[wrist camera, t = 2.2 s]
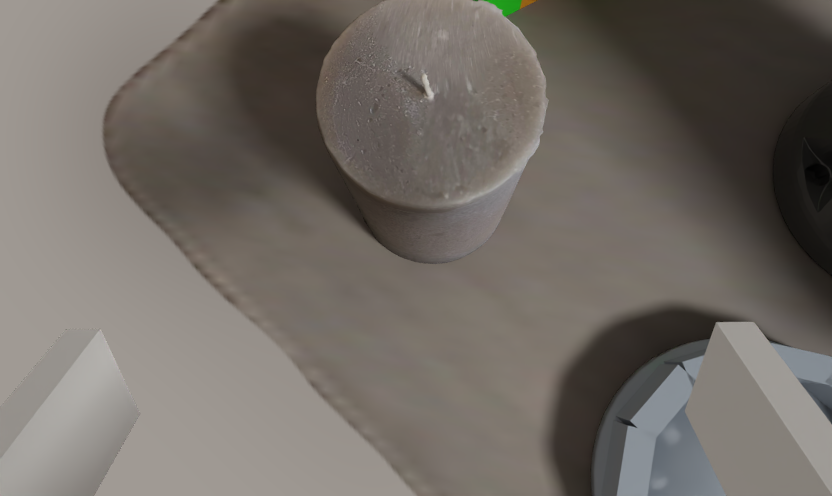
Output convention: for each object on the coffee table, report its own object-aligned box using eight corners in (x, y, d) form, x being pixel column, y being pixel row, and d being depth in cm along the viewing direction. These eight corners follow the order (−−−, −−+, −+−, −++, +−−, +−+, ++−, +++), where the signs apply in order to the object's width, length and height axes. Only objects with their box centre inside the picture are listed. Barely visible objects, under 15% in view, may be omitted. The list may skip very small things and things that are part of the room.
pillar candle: (335, 226, 35) (259, 137, 20) (400, 100, 37) (373, -67, 22) (470, 290, 34) (493, 244, 19) (531, 157, 35) (597, 20, 21)
